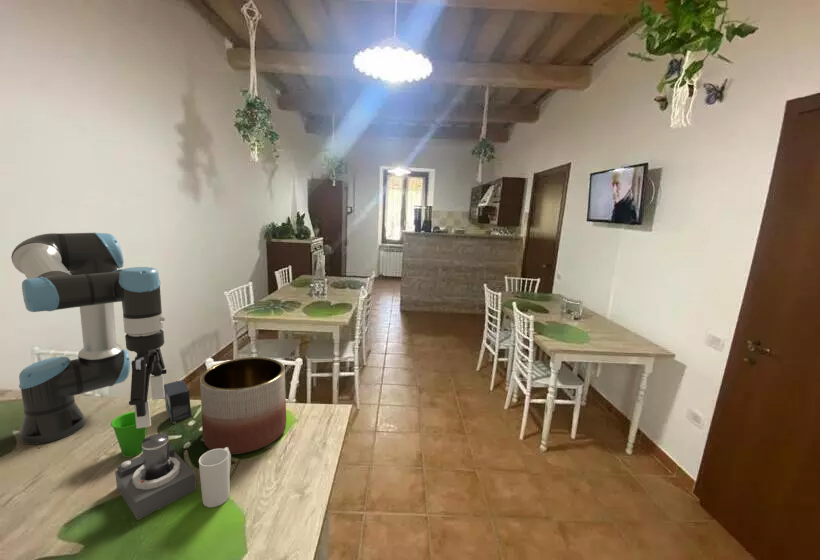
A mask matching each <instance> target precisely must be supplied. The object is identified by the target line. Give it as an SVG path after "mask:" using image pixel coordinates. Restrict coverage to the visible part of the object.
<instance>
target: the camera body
mask: <svg viewBox="0 0 820 560" xmlns="http://www.w3.org/2000/svg"><path fill="white" fill-rule="evenodd" d="M169 459H170V472H169V473H168V474H167V475H165V476H163V477H161V478H158V479H154V480H149V481H147V480H145V478H144V463H143V454H142V455H139V456H138V457H134V458H133V459H130V460H125V461H123V462H121V464H118V465H116V466H117V470H115V471H114V475H115V481H116V483H115V484H116V489H117V490H118V492H119V494H120V495H121V497H122V498H123V500H124V501H125V503H126V505H127V506H128V508H129V510H130V511H131V512H133V513H132V514H133V516H134V515H135V516H134V518H135V519H136V518H137V519H136V520H138V521H140V520H141V519H140V518H142V519H143V517H144V516H146V515H148V514H150V513H151V514H153V513H154V512H153V511H155V512H157V511H158V509H159V508H161V509H163V508H165V507H166V505H167V506H168V505H170V504H172V503H174V502H176V501H178V500H179V499H182V498H184V497H185V496H187V495H189V494H191V493H193V492H195V491H197V483H196V482H197V481H196V473H195V471H194V470H193V469H192V468H191V467H190V466H189V465H188V464H187V463H186V462H185V460H183V458H181V456H180V455H178V454H177V452H176V451H175V449H174V447H172V446H171V445H170V444H169ZM164 506H165V507H164ZM162 507H163V508H162ZM156 510H157V511H156ZM159 510H160V509H159ZM152 512H153V513H152ZM151 514H150V515H151ZM148 516H149V515H148ZM146 517H147V516H146ZM144 518H145V517H144ZM139 519H140V520H139Z"/></svg>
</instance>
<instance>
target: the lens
mask: <svg viewBox="0 0 820 560" xmlns="http://www.w3.org/2000/svg"><path fill="white" fill-rule="evenodd" d="M169 445H170V444H169V435H168V433H165V432H161V433H160V432H159V433H158V432H157V433H154V434H151V435H148V436H147V437H145V439H144V440H143V441H142V449H143V451H142V455H143V463H144V478H145V480H147V481H149V480H154V479H158V478H161V477H163V476H165V475H167V474H168V473H169V472H170V459H169Z"/></svg>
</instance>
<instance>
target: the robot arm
mask: <svg viewBox="0 0 820 560" xmlns="http://www.w3.org/2000/svg"><path fill="white" fill-rule="evenodd" d="M10 258H11V263H12V265H13V266H14V268H15V269H16V270H17V271H18V272H19V273H21V274H23V275H25V278H26V279H24V280H23V281H22V283H21V290H22V291H21V292H22V297H23V303H24V306H25V309H26V310H27V311H28V312H32V313H37V312H38V313H39V312H53V311H58V310H65V309H73V308H79V313H80V323H81V324H80V325H81V332H82V344H83V346H82V347H83V348H82V349H80V350H79V351H78V354H77V357H78V358H76V359H72V360H71V359H70V358H69V357H68V356H54V357H50V358H45V359H43V360H39V361H36V362H34V363H32V364H30V365H28V366H27V367H25V368H23V369H22V370H21V371H20V373H19V375H18V377H19V378H18V379H19V381H18V382H19V384H18V387H19V390H20V392H21V398H22V407H23V412H24V413H23V414H24V416H23V419H22V422H21V426H20V430H19V431H18V432H19V433H18V434H19V440H21V441H22V442H23V443H22V442H21V441H20V442H21V443H22V444H24V443H27V444H26V445H40V444H42V445H43V444H47V443H51V442H54V441H58V440H61V439H64V438H65V437H69V436H71V435H72V434H75V433H77V432H79V430H81V428H83V426H84V425H85V415H84V413H83V412H82V410H81V409H80V408H79V406H78V405H77V403H76V401H75V399H76V398H75V396H77V395H81V394H86V393H89V392H94V391H96V390H100V389H103V388H106V387H113V386H114V385H117V384H121V383H124V382H125V381H126V380H127V379H128V377H129V375H130V371H131V384H130V397H129V398H130V399H129V401H128V405H130V406H133V407H134V411H135V419H136V429H137V428H144V427H146V428H149V427H151V426H152V419H151V409H150V399H148V396H149V386H150V389H151V400H152V401H155V400H156V401H157V400H163V399H164V400H165V393H164V384H165V383H164V382H165V381H164V375H166V374H167V369H165V367H166V366H165V363H164V359H163V358H164V357H163V355H162V351H161V347H162V346H163V345H165V333H164V330H163V328H164V326H163V325H164V324H163V322H164V321H166V317H164V316H162V315H163V314H162V311H163V310H162V297H161V296H162V294H161V280H160V276H159V271H158V269H156V268H154V267H152V266H151V267H149V266H135V267H134V266H133V267H127V268H123V267H124V256H123V252H122V249H121V246H120V243H119V242H118V239H117V238H116V237H115V236H114V235H113V234H111V233H107V232H106V233H104V232H103V233H102V232H71V233H69V232H68V233H65V232H63V233H55V232H54V233H53V232H50V233H43V234H37V235H35V236H32V237H30V238H27V239H25V240H23V241H21V242H19V244H18V245H16V246H15V248H14V249H13V251H12V252H11V257H10ZM114 303H121V306H122V307H121V308H122V318H123V330H124V331H123V332H124V333H125V336H124V338H125V346H126V347H125V348H126V349H123V346H122V345H121V344H119V343H118V342H117V332H116V320H115V316H116V315H115V304H114ZM129 351H130V352H134V353H135V354H136V356H135V357H134V360H132V361H130V354H129ZM46 442H47V443H46Z"/></svg>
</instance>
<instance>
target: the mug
mask: <svg viewBox="0 0 820 560" xmlns="http://www.w3.org/2000/svg"><path fill="white" fill-rule="evenodd" d="M231 465H232V454H230V451H229V449H228V447H225V449H213V450H210V449H209V450H207V451H206V452H204V453H203V454H202V455H201V456H200V457H199V459H198V467H199V477H200V479H199V480H200V488H201V496H202V497H201V498H202V504H203V506H205V507H206V506H207V507H206V508H216V507H219V506H221V505H223V504H224V503H226V502H227V500H229V498H230V493H231V491H230V489H231V485H230V483H231V482H230V480H231V479H230V472H231Z"/></svg>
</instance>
